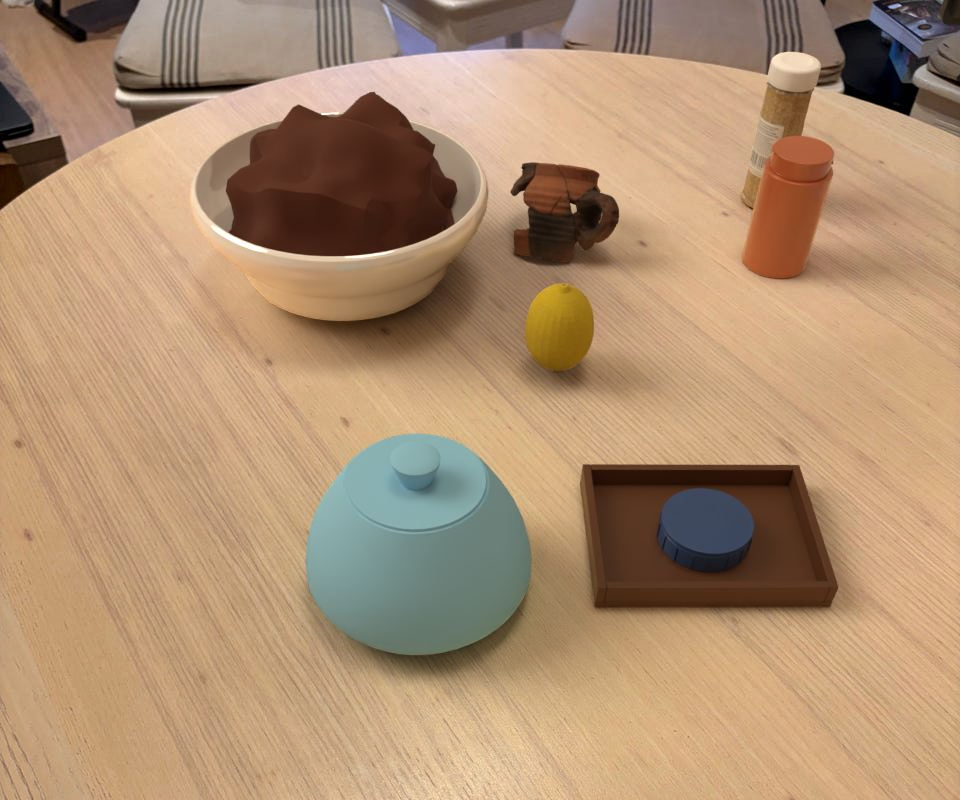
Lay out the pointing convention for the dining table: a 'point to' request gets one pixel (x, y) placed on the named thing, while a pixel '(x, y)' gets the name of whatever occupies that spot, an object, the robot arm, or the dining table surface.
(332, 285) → the bowl of chocolate mousse
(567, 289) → the lemon
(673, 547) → the lid
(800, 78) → the sprinkles bottle
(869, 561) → the dining table surface
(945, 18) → the robot arm
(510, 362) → the dining table surface
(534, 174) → the pottery mug
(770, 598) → the tray
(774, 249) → the jar
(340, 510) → the sugar bowl
